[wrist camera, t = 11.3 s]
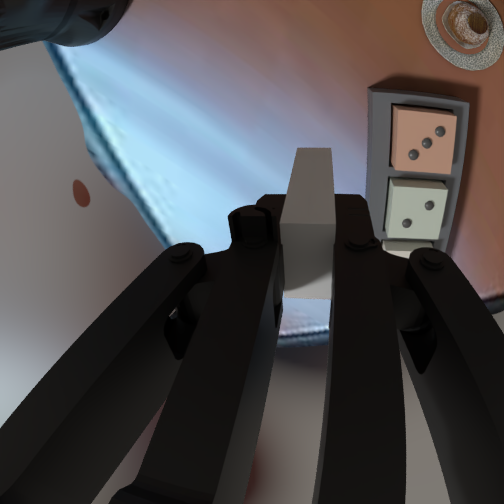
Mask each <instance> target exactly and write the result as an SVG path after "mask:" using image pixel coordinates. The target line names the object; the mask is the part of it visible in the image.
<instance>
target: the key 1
mask: <svg viewBox="0 0 504 504" xmlns="http://www.w3.org/2000/svg"><path fill="white" fill-rule="evenodd" d="M381 244H382V248H383V250H385V251H387V252H389V253H391V254H394V255H397V256H400V257H404V258H408V259H409V256H410V253H411V252H412V251H413V250H414V249H417V248H421V247H431V248H433V246H432V244H431V241H416V240H387V239H381Z"/></svg>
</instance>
